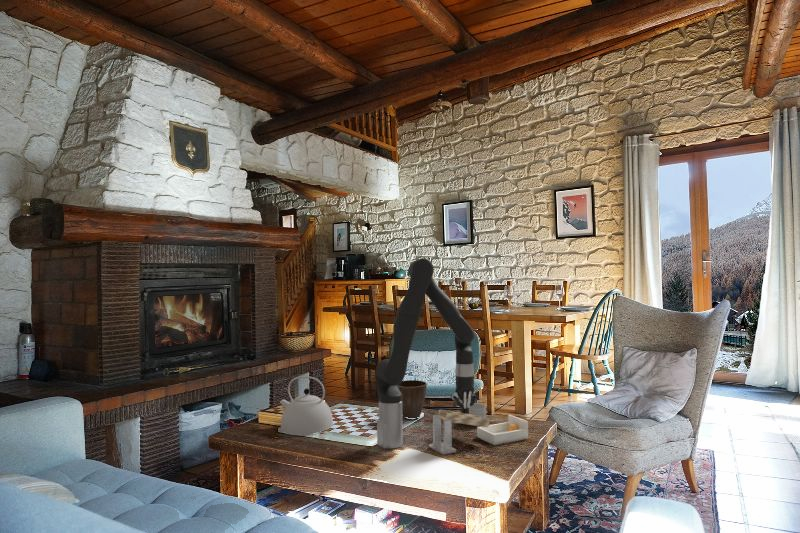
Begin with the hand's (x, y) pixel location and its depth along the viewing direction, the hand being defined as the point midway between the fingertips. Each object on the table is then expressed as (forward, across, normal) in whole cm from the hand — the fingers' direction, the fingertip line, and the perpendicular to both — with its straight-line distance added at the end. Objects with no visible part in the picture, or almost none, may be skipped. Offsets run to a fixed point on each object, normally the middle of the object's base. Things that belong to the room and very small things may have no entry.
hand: (465, 416), depth 212 cm
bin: (+8, +13, -8) cm, 17 cm away
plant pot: (+9, -6, +36) cm, 38 cm away
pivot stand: (+8, -16, -8) cm, 19 cm away
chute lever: (-1, -6, -3) cm, 7 cm away
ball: (+6, +18, -8) cm, 21 cm away
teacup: (+9, +15, +16) cm, 24 cm away
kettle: (+9, -53, +47) cm, 71 cm away
